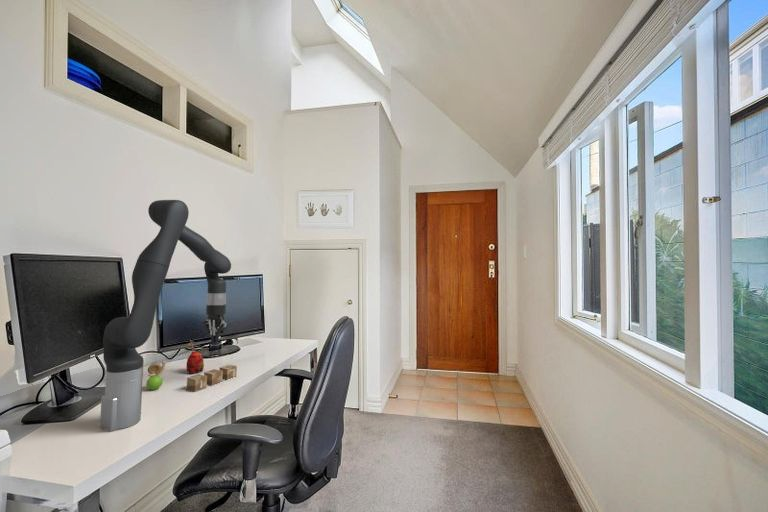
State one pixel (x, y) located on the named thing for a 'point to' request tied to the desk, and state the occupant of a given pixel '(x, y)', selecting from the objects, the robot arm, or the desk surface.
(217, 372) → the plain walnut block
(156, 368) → the snail figurine
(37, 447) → the desk surface
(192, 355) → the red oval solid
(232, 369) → the numeral 7 block
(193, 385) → the numeral 1 block
